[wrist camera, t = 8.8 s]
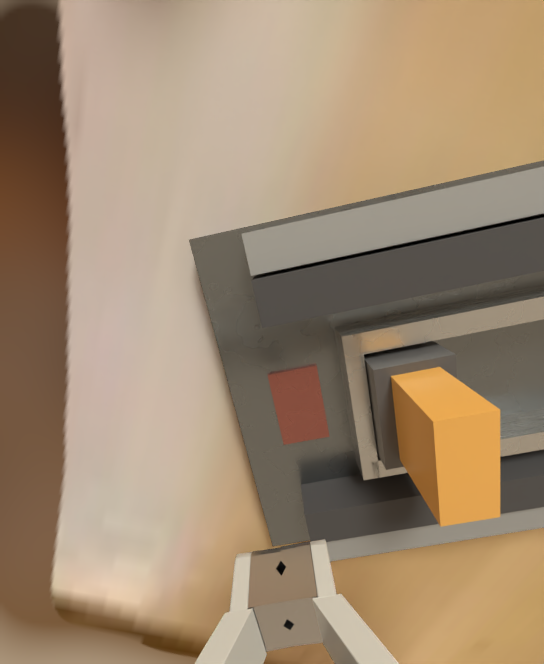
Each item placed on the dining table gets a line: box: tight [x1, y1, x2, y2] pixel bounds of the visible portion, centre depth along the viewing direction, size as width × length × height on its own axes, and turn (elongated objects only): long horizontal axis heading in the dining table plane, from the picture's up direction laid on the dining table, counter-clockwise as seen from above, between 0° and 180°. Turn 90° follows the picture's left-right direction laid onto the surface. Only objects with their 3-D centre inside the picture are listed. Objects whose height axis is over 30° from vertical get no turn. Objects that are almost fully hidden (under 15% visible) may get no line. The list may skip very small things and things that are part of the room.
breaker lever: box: [364, 341, 500, 527], centre depth 15 cm, size 4×6×7 cm, turn 12°
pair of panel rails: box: [242, 167, 544, 561], centre depth 17 cm, size 24×21×2 cm
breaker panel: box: [189, 161, 544, 546], centre depth 18 cm, size 30×22×4 cm
